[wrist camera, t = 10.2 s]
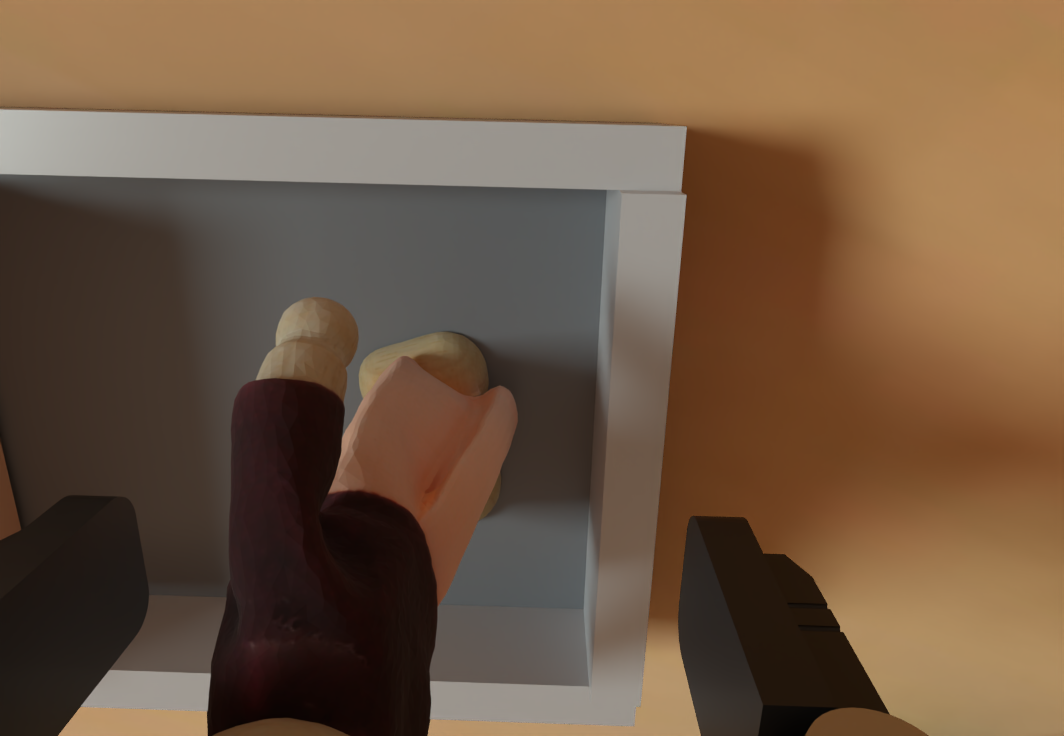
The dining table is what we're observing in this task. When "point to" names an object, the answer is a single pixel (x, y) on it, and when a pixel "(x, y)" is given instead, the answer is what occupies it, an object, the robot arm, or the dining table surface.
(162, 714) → the dining table surface
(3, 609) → the robot arm
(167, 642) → the tray
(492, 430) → the grandmother figurine
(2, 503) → the block
